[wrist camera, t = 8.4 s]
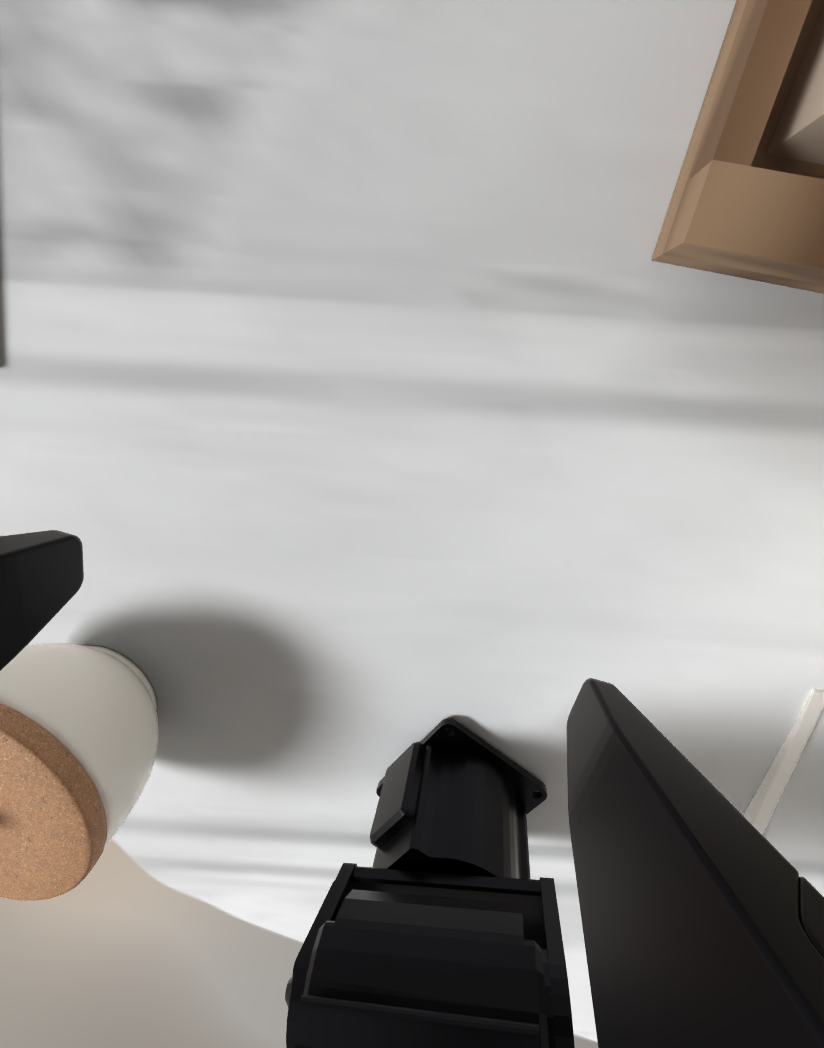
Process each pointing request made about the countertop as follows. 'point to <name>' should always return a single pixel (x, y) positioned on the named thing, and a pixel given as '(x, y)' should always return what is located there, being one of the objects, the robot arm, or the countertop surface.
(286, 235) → the countertop surface
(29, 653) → the lidded jar
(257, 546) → the countertop surface
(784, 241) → the tray
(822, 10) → the clay bar
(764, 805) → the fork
